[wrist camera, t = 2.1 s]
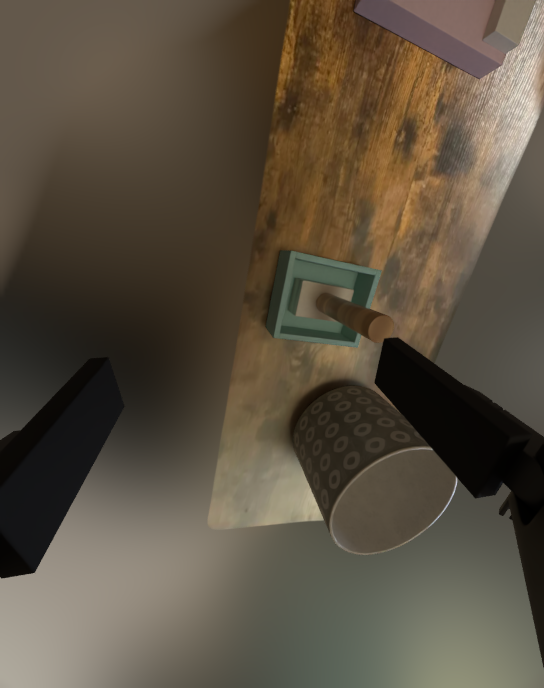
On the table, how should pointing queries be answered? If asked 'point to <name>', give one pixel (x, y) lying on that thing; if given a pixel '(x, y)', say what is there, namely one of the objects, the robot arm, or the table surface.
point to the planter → (370, 471)
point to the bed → (455, 28)
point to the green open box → (322, 271)
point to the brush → (338, 309)
